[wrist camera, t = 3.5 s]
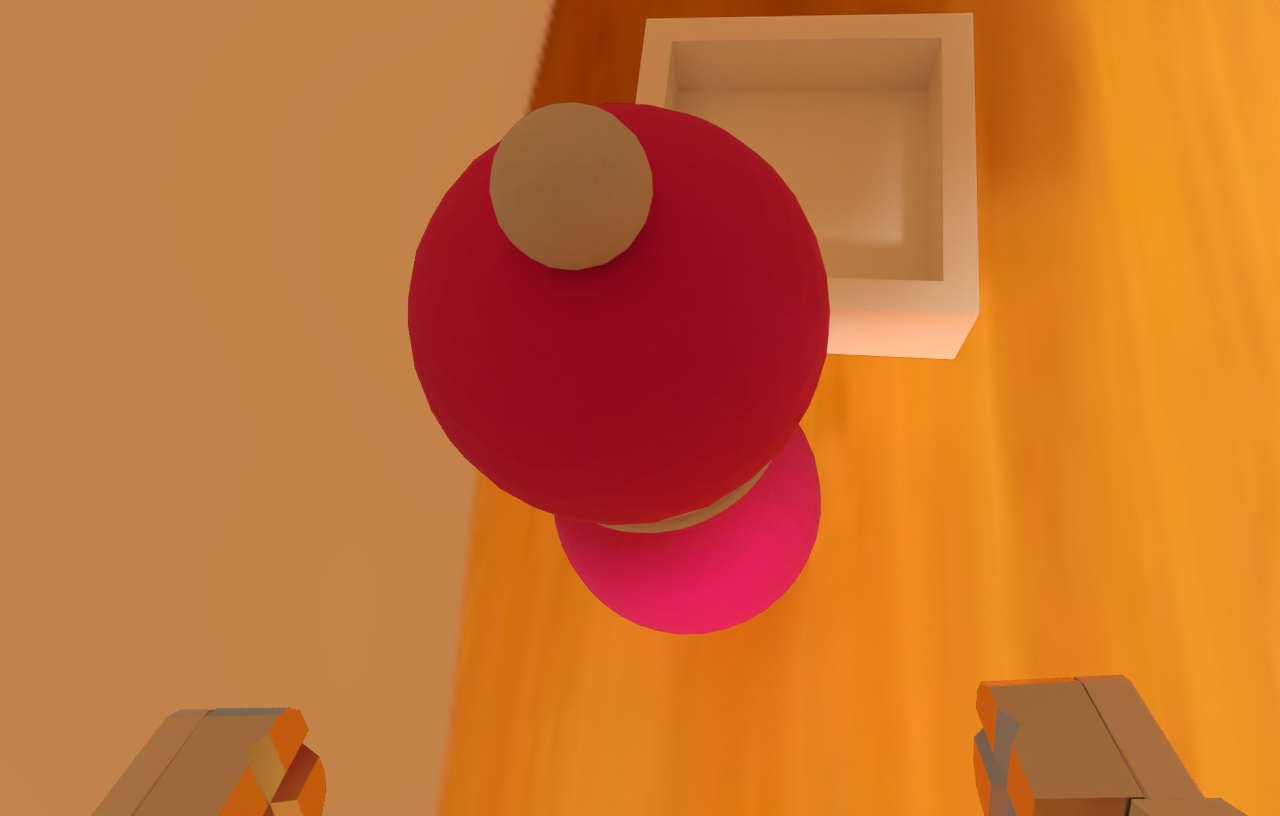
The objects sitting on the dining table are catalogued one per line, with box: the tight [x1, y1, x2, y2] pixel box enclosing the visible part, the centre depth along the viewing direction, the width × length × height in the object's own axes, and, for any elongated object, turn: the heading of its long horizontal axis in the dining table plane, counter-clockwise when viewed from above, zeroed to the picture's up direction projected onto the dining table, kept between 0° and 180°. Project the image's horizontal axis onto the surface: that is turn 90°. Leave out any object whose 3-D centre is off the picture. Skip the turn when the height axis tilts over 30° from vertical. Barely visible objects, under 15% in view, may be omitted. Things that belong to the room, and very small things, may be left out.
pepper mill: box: [408, 102, 830, 634], centre depth 18 cm, size 7×7×20 cm
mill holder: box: [635, 13, 979, 359], centre depth 29 cm, size 11×11×4 cm
